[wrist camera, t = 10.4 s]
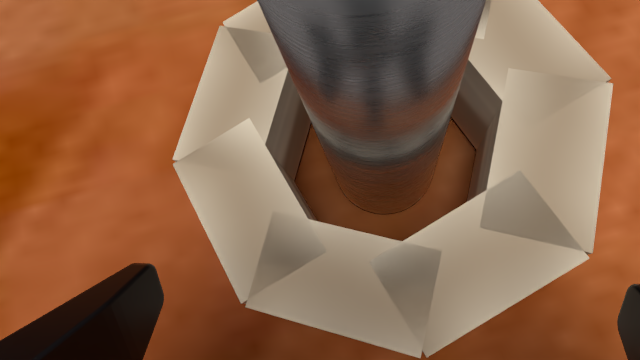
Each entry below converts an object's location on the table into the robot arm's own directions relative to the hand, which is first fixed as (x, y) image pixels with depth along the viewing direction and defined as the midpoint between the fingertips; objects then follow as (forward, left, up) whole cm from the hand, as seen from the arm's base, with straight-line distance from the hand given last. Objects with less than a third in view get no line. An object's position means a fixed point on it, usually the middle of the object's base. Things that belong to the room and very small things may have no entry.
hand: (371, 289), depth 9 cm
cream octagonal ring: (+5, +1, -9) cm, 10 cm away
